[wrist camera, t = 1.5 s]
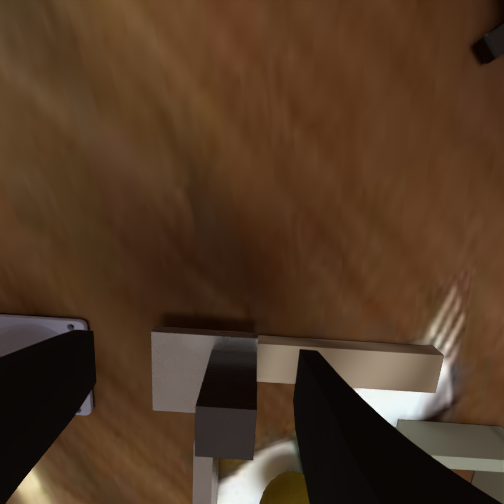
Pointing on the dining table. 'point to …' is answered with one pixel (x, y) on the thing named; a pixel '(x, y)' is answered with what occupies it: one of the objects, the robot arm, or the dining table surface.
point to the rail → (354, 362)
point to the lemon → (286, 490)
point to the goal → (463, 450)
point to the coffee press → (492, 44)
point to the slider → (208, 395)
